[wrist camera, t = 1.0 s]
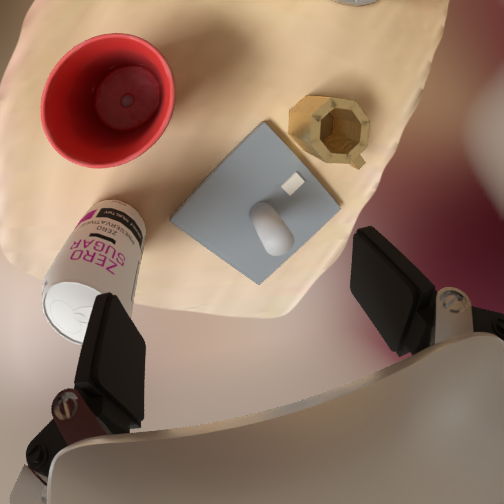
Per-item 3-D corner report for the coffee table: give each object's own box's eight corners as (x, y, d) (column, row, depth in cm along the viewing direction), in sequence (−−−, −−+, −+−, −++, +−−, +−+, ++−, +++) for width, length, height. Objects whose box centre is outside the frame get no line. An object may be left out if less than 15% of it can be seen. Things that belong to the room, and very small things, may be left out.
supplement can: (94, 262, 32) (62, 353, 20) (76, 203, 28) (19, 280, 15) (152, 254, 33) (142, 348, 21) (139, 191, 29) (109, 267, 17)
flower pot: (143, 164, 28) (126, 194, 20) (65, 120, 22) (21, 134, 14) (200, 82, 24) (205, 75, 16) (117, 36, 19) (88, 13, 11)
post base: (262, 121, 28) (286, 130, 21) (337, 205, 36) (370, 234, 29) (170, 217, 31) (167, 253, 25) (257, 280, 39) (272, 321, 32)
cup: (277, 121, 28) (296, 128, 23) (317, 85, 27) (344, 85, 22) (322, 173, 33) (347, 189, 28) (358, 139, 31) (387, 150, 26)
